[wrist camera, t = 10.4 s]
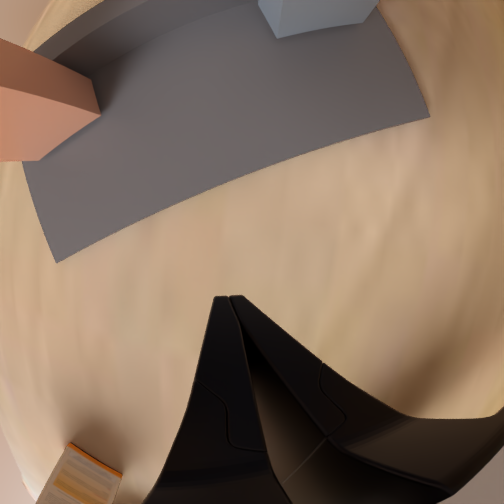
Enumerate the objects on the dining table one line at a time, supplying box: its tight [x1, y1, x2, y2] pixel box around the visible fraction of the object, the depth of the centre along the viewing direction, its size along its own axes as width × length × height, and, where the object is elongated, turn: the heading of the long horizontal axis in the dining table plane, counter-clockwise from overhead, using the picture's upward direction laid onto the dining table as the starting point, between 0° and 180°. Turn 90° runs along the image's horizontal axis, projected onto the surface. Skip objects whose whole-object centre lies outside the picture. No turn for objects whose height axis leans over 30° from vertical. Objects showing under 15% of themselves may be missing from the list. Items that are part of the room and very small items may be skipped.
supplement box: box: [36, 443, 122, 504], centre depth 19 cm, size 8×5×13 cm, turn 52°
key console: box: [22, 0, 430, 263], centre depth 13 cm, size 13×28×5 cm, turn 111°
